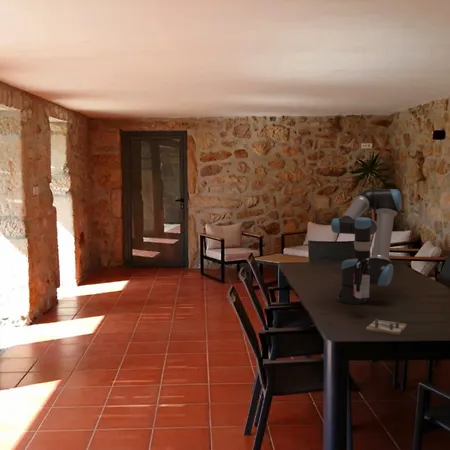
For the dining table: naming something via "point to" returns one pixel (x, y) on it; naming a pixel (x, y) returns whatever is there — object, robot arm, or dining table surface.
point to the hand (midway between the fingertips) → (361, 295)
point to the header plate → (386, 327)
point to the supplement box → (363, 286)
